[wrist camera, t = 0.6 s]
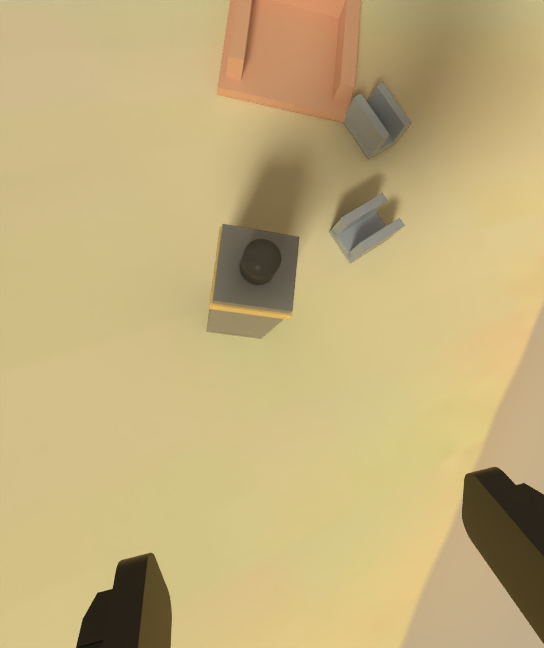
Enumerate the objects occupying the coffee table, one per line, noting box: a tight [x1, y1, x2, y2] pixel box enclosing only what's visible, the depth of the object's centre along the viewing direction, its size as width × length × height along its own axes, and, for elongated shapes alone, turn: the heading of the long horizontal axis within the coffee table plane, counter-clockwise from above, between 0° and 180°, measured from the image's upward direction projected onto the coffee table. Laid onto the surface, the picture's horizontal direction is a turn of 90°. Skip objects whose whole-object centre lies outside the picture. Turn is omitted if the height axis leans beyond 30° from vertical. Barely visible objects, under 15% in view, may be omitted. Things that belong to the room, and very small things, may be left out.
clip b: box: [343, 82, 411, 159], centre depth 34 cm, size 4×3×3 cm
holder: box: [217, 0, 361, 122], centre depth 34 cm, size 11×11×3 cm
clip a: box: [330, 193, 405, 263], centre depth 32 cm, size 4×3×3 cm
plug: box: [207, 224, 299, 339], centre depth 25 cm, size 4×4×12 cm
